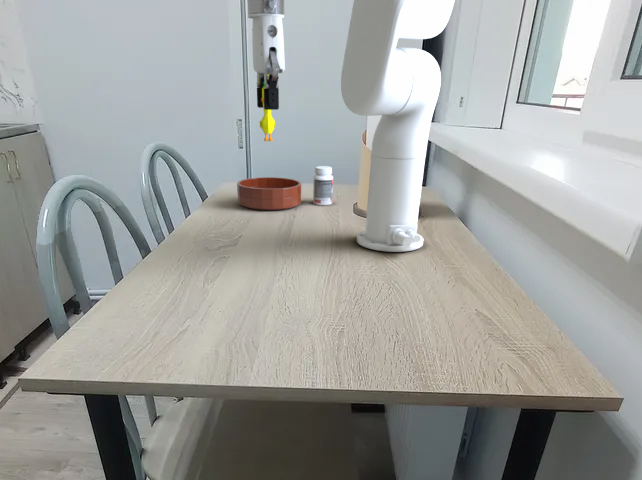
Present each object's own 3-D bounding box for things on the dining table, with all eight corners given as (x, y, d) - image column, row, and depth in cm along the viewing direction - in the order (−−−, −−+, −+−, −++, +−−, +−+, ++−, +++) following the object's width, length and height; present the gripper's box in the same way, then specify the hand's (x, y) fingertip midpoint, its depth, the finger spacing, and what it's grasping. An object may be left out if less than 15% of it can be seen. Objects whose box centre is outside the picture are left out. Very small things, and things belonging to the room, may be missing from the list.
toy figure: (277, 141, 118) (276, 80, 113) (261, 141, 118) (259, 79, 113) (274, 140, 124) (273, 82, 119) (259, 140, 124) (257, 81, 119)
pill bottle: (335, 204, 129) (337, 168, 125) (317, 206, 128) (318, 169, 123) (327, 200, 133) (328, 165, 129) (310, 202, 131) (310, 166, 127)
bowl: (308, 209, 124) (309, 187, 122) (245, 213, 120) (244, 190, 118) (290, 196, 137) (290, 176, 134) (232, 199, 133) (231, 178, 130)
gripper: (295, 6, 103) (294, 111, 112) (273, 13, 117) (274, 106, 126) (257, 4, 101) (260, 111, 110) (239, 12, 115) (243, 106, 124)
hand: (267, 107), depth 118 cm, fingers closed on toy figure, 5 cm apart
